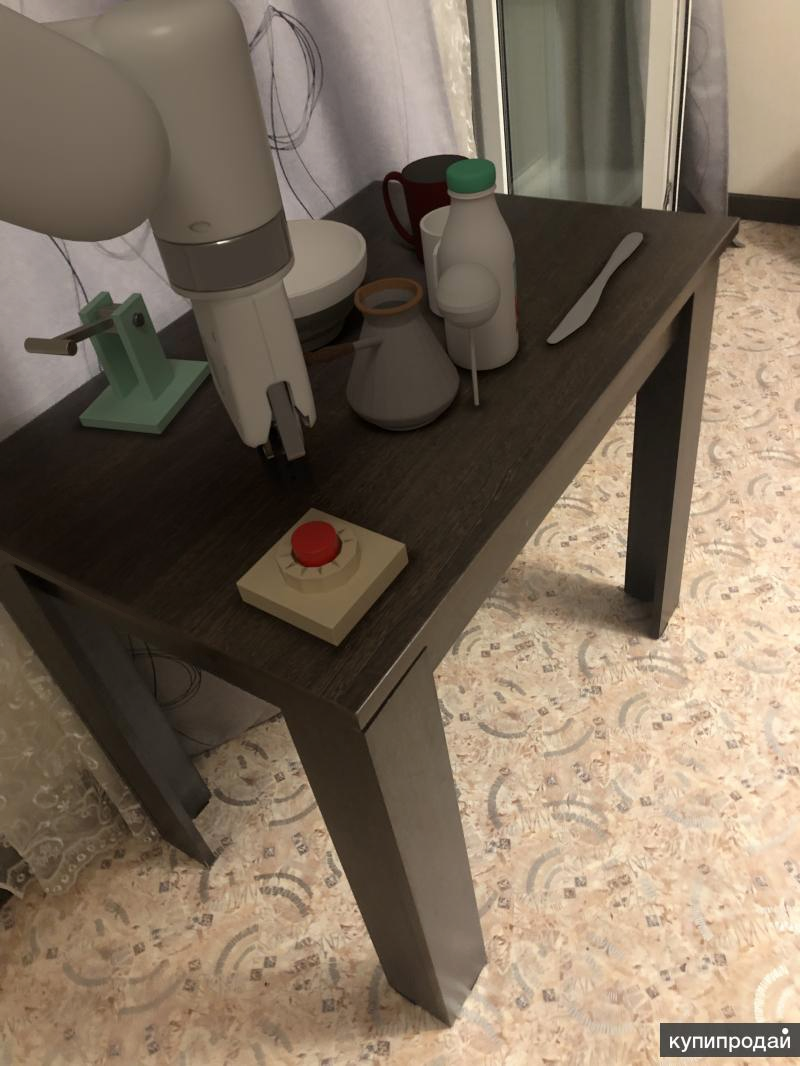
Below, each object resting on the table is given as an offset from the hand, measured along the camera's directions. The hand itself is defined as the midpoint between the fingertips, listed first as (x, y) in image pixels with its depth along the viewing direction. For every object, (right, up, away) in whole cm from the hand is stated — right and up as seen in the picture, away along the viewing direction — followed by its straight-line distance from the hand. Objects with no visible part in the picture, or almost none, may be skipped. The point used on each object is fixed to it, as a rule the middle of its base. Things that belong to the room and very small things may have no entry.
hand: (291, 485), depth 60 cm
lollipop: (+16, +9, +23) cm, 29 cm away
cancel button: (+1, -5, +5) cm, 7 cm away
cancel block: (+2, -8, +8) cm, 11 cm away
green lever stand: (-20, +12, +32) cm, 39 cm away
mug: (+13, +33, +48) cm, 60 cm away
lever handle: (-23, +16, +22) cm, 35 cm away
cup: (+15, +23, +37) cm, 46 cm away
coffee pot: (+6, +6, +21) cm, 23 cm away
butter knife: (+32, +25, +36) cm, 54 cm away
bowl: (-4, +20, +38) cm, 43 cm away
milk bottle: (+17, +16, +29) cm, 37 cm away
